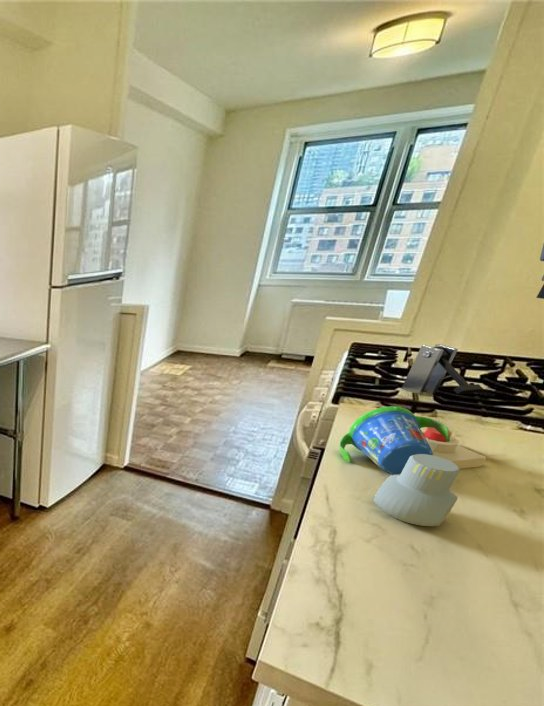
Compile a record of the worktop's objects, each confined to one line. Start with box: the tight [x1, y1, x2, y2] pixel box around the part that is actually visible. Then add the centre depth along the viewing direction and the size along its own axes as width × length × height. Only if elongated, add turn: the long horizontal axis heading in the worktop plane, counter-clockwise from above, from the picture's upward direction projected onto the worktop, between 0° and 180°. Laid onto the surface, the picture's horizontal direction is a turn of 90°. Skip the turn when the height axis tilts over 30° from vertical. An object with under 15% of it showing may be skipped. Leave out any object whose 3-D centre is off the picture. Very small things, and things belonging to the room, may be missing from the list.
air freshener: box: [373, 454, 461, 527], centre depth 77 cm, size 11×8×10 cm
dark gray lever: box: [433, 346, 484, 395], centre depth 115 cm, size 13×6×2 cm
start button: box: [424, 427, 453, 442], centre depth 95 cm, size 4×4×2 cm
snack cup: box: [339, 406, 450, 475], centre depth 91 cm, size 16×10×10 cm
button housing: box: [421, 429, 487, 470], centre depth 96 cm, size 12×10×4 cm
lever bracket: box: [401, 343, 459, 396], centre depth 120 cm, size 12×9×13 cm
